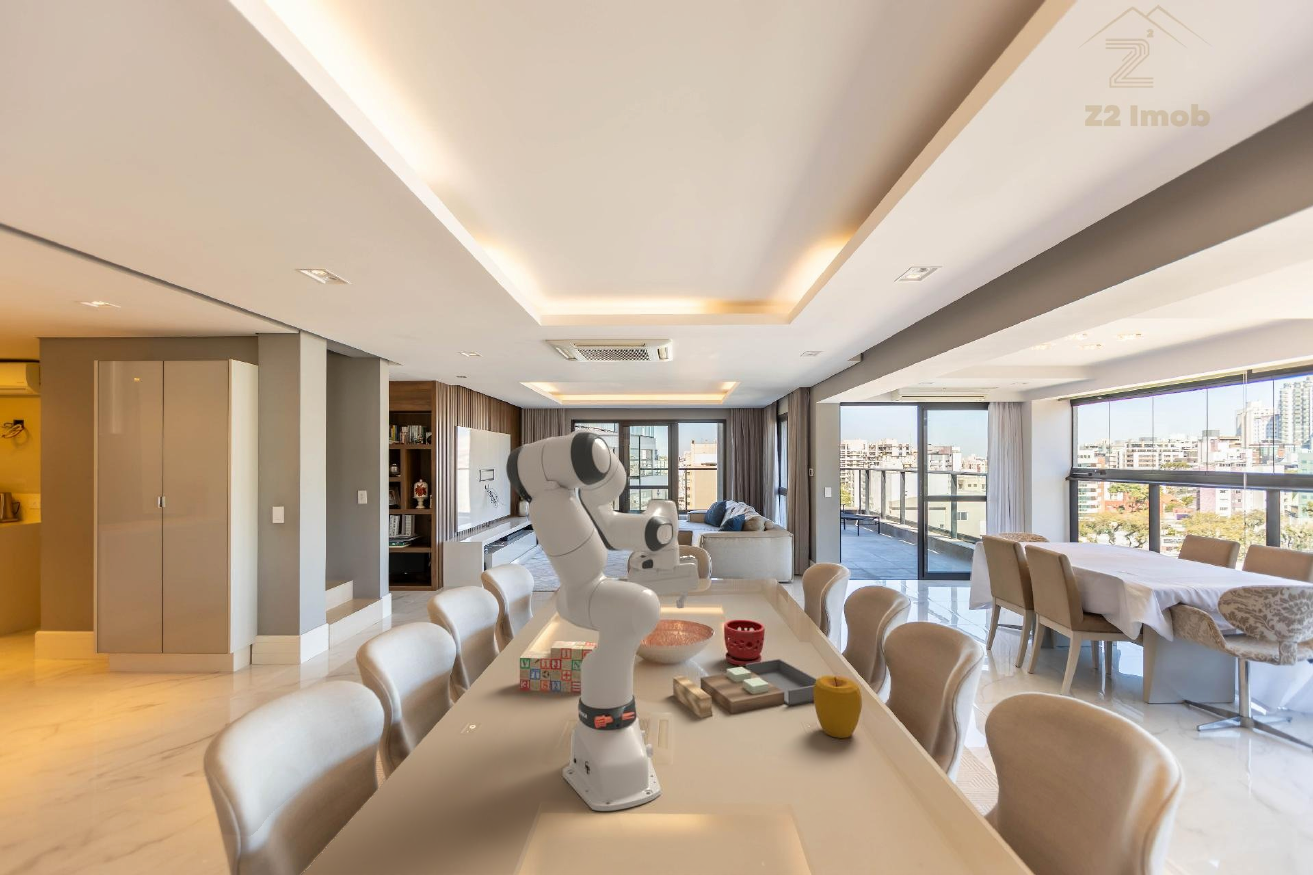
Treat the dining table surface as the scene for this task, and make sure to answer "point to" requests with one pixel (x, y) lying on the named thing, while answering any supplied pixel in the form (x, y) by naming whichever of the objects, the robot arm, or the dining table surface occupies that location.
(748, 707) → the board
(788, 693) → the tray
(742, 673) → the tile
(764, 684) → the tile
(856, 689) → the apple
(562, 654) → the stack of blocks
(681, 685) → the wooden plank piece
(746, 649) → the plant pot
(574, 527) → the robot arm
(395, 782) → the dining table surface
